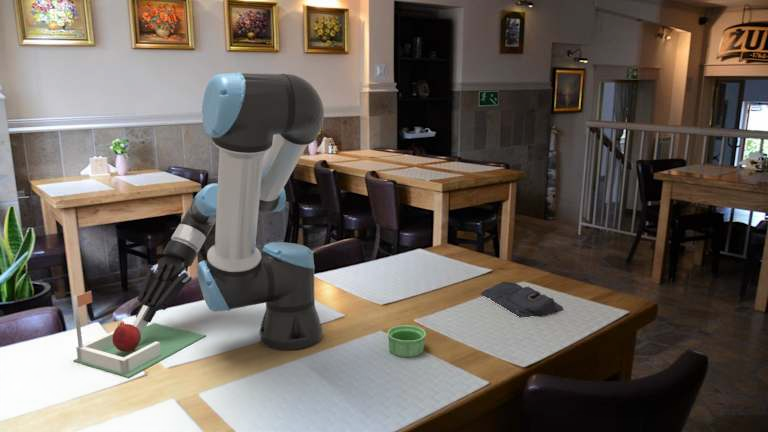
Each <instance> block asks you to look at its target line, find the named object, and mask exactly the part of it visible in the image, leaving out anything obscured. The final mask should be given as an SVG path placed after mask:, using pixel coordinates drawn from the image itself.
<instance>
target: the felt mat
mask: <svg viewBox="0 0 768 432" xmlns="http://www.w3.org/2000/svg"><path fill="white" fill-rule="evenodd" d="M203 338H206V334H202V333H197V332H193V331H189V330H186V329H181V328H177V327H173V326H170V325H169V326H168V325H164V324H160V323H156V322H153V323H150V324H149V325H147V326H146V328H145V330H144V331H143V333H142V335H141V340H140V342H139V344H138V346H137V347H136V348H135V350H134V351H130V352H123V351H120V350H118V349H117V348H116V347H115V346H113V347H111V348H109V349H107V350H104V351H103V352H106V353H110V354H113V355H117V356H120V357H126V356H128V355H130V354H132V353H134V352H136V351H138V350H140V349H142V348H144V347H146V346H148V345H150V344H152V343H154V342H160V351H161V355H159V356H157V357H156V358H154V359H152V360H150V361H148V362H146V363H144V364H142V365H140V366H139V367H137V368H135V369H133V370H131V371H129V372H127V373H125V374H123V373H119V372H116V371H113V370H109V369H106V368H103V367H99V366H96V365H93V364H89V363H86V362H83V361H79V360H78V357H77V358H75V359H73V362H74V363H77V364H80V365H83V366H87V367H90V368H94V369H97V370H100V371H104V372H107V373H111V374H114V375H116V376H120V377H123V378H126V379H130V378H132V377H134V376H135V375H137V374H139V373H141V372H143V371H144V370H145V371H146V370H148V369H149V368H150V367H153V366H154V365H156V364H157V363H159V362H161V361H164V360H165V359H167V358H169V357H171V356H172V355H174V354H176V353H177V352H179V351H181V350H183V349H186V348H187V347H188V346H191V345H193V344H194V343H196V342H198V341H200V340H201V339H203Z"/></svg>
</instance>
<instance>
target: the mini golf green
mask: <svg viewBox="0 0 768 432" xmlns="http://www.w3.org/2000/svg"><path fill="white" fill-rule="evenodd" d="M72 301H73V310H74V311H73V312H74V319H75V325H76V326H75V328H76V335H77V336H76V337H77V344H78V346H77V347H76V354H77V355H76V356H77V358H78V360H79V361H83V362H86V363H89V364H93V365H96V366H99V367H103V368H106V369H109V370H113V371H116V372H119V373H123V374H125V373H127V372H129V371H131V370H133V369H135V368H137V367H139V366H140V365H142V364H144V363H146V362H148V361H150V360H152V359H154V358H156V357H157V356H159V355H161V351H160V342H154V343H152V344H150V345H148V346H146V347H144V348H142V349H140V350H138V351H136V352H134V353H132V354H130V355H128V356H126V357H120V356H117V355H113V354H110V353H106V352H103V351H104V350H107V349H109V348H111V347H113V346H114V344H113V341H112V338H113V333H114V331H115V330H113V331H111V332H108V333H105V334H104V335H101V336H100V337H97V338H95V339H93V340H90V341H88V342H86V343H84V344H83V338H82V331H81V330H82V328H81V322H80V321H81V319H80V312H79V308H80V307H83V306H86V305H88V304H91V303H93V295H92V290H89V291H87V292H83V293H82V294H78V295H76V294H74V295H72Z"/></svg>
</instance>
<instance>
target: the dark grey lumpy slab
mask: <svg viewBox="0 0 768 432" xmlns="http://www.w3.org/2000/svg"><path fill="white" fill-rule="evenodd" d="M480 294H481V295H483V296H485V297H487V298H490V299H491V300H492V301H494V302H495V303H497V304H499V305H501V306H502V307H504V308H506V309H507V310H509V311H510V312H512V313H514V314H516V315H517V316H519V317H518V318H524V317H530V316H535V317H543V316H542V315H545V316H549V315H548V314H550V315H553V314H552V313H554V312H556V311H559V312H560V311H563V310H564V307H563V306H562V305H560V304H559V303H557V302H556V301H555V300H554V298H553V297H549V296H547V295H546V294H541V292H539V291H537V290H535V289H533V288H532V287H530V286H525V287H523V286H522V285H520V284H518V283H515V282H513V281H511V282H510V281H502V282H499V283H498V284H494V285H493V286H492V287H490V288H487V289H484V290H483V291H482V292H480ZM481 295H480V296H481ZM483 296H482V297H483ZM485 297H484V298H485ZM487 298H486V299H487ZM507 310H506V311H507ZM510 312H509V313H510ZM512 313H511V314H512ZM556 313H557V312H556ZM554 314H555V313H554ZM517 316H516V317H517ZM522 316H523V317H522Z"/></svg>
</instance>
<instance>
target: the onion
mask: <svg viewBox="0 0 768 432" xmlns="http://www.w3.org/2000/svg"><path fill="white" fill-rule="evenodd" d="M113 331H114V333H113V338H112V341H113V344H114V346H115V347H116V348H117V349H118V350H120V351H123V352H130V351H134V350H135V348H136V347H137V346H138V344H139V342H140V340H141V335H140V331H139V330H138V329H137V328H136V327H135V326H133V325H132V324H130V323H125V322H124V321H122V320H121V321H119V322H118V324H117V326H116V328H115V330H113Z"/></svg>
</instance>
